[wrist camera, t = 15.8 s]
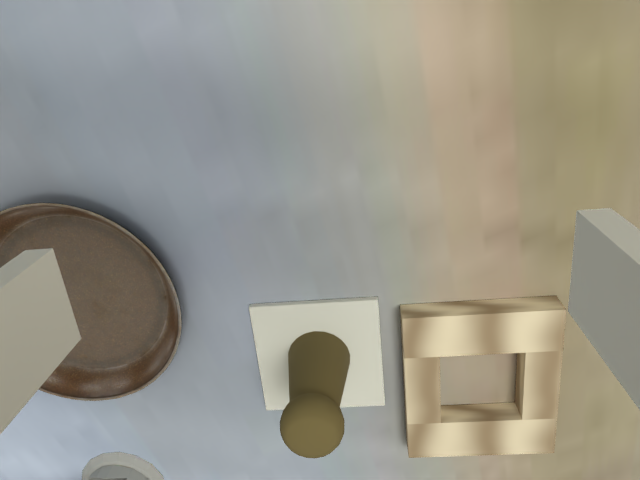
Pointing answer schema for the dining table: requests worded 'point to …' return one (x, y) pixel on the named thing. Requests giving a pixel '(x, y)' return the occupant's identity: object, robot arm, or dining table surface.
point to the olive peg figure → (315, 394)
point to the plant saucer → (101, 299)
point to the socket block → (481, 339)
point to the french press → (120, 468)
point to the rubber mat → (328, 316)
